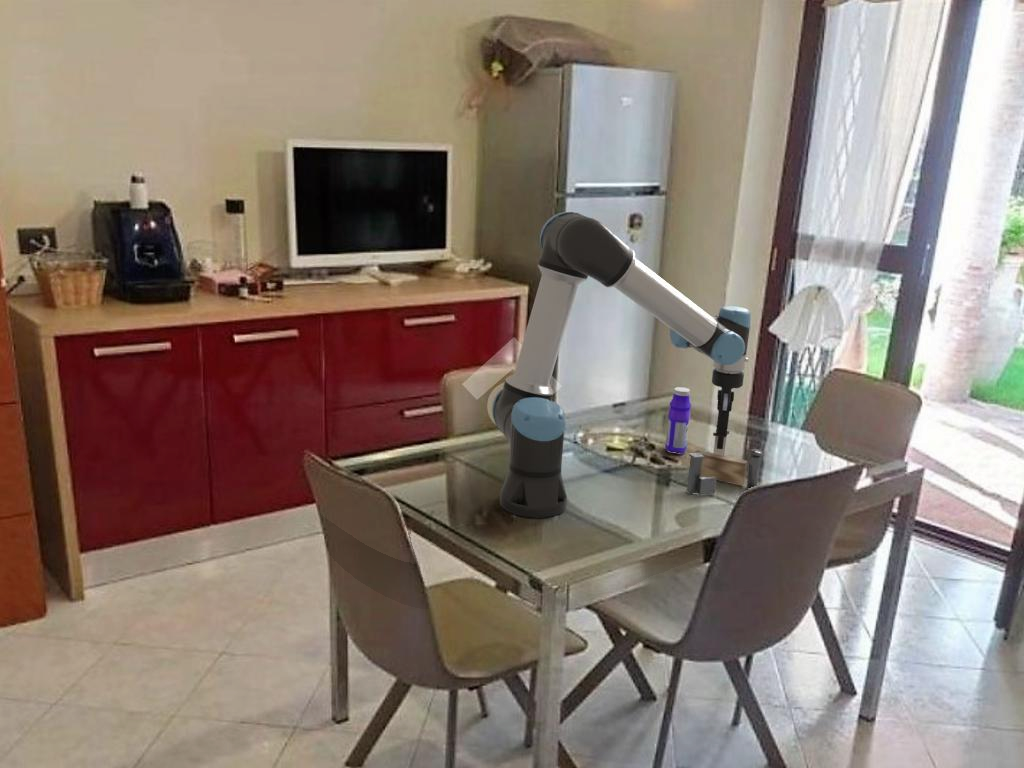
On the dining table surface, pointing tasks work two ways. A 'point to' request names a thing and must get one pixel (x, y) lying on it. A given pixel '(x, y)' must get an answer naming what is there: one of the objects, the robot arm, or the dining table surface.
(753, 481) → the hinge post
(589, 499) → the dining table surface
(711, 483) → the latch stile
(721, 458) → the gate
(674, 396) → the bottle
